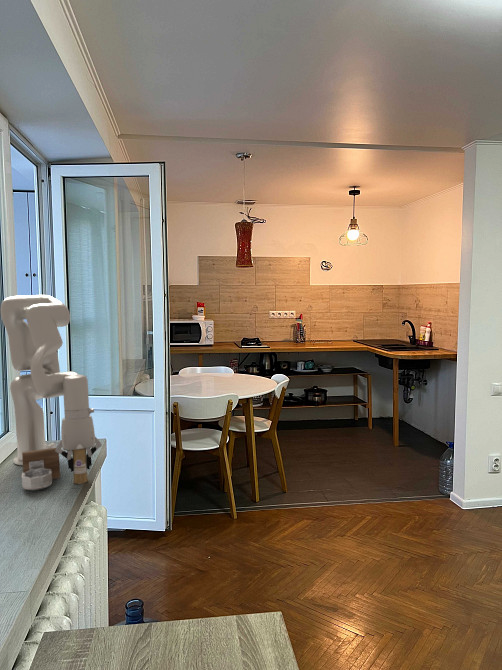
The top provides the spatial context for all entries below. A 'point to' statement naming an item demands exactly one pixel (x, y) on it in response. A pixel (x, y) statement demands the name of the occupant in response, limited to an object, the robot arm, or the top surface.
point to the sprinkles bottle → (79, 465)
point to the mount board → (44, 454)
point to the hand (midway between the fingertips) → (80, 468)
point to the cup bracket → (36, 476)
